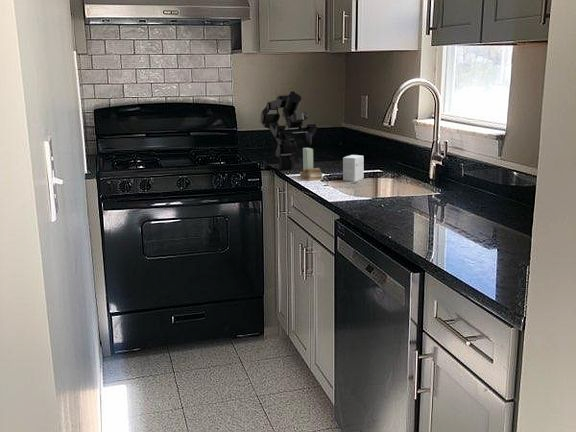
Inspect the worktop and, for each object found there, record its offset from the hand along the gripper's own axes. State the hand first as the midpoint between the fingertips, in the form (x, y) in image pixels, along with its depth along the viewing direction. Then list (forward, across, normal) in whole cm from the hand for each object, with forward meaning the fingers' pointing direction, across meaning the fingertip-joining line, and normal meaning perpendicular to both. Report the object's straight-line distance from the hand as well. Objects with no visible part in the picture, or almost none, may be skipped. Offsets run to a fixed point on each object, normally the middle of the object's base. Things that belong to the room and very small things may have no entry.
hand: (301, 145), depth 278 cm
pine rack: (+16, 0, +2) cm, 16 cm away
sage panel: (+14, 0, +3) cm, 14 cm away
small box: (+24, +15, -5) cm, 29 cm away
